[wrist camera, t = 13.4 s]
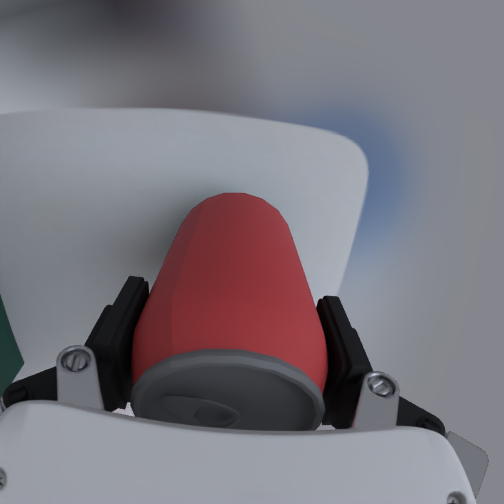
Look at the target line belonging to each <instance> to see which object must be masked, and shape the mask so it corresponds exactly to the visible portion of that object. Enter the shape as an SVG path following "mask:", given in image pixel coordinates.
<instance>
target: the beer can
mask: <svg viewBox="0 0 504 504" xmlns="http://www.w3.org/2000/svg"><path fill="white" fill-rule="evenodd" d="M130 369H131V376H132V382H133V388H132V395H131V404H130V406H131V408H132V411H133V413H134V415H135V417H139V418H144V419H150V420H156V421H162V422H169V423H176V424H184V425H192V426H201V427H212V428H223V429H238V430H259V431H315V430H316V429H317V428H318V427H319V426H320V424H321V421H322V418H323V415H324V413H325V405H324V401H323V397H322V394H323V391H324V387H325V383H326V378H327V374H328V351H327V346H326V341H325V336H324V332H323V329H322V326H321V323H320V319H319V316H318V313H317V310H316V307H315V304H314V301H313V298H312V295H311V292H310V289H309V285H308V282H307V279H306V276H305V273H304V270H303V267H302V265H301V262H300V259H299V256H298V253H297V250H296V247H295V244H294V241H293V238H292V235H291V233H290V230H289V227H288V224H287V223H286V221H285V220H284V218H283V217H282V216H281V214H280V213H279V211H278V210H277V209H276V208H274V207H273V206H272V205H270V204H269V203H267V202H266V201H265V200H263V199H261V198H258V197H255V196H252V195H249V194H246V193H223V194H220V195H216V196H213V197H210V198H207V199H205V200H204V201H203V202H201V203H200V204H198V205H197V206H196V207H194V208H193V209H192V210H191V211H190V213H189V214H188V215H187V217H186V218H185V220H184V221H183V223H182V224H181V226H180V228H179V231H178V233H177V235H176V237H175V239H174V241H173V243H172V245H171V247H170V250H169V252H168V254H167V256H166V258H165V260H164V263H163V265H162V267H161V269H160V271H159V274H158V276H157V278H156V280H155V283H154V285H153V287H152V289H151V292H150V294H149V296H148V299H147V301H146V303H145V306H144V308H143V311H142V313H141V315H140V318H139V320H138V323H137V325H136V327H135V330H134V336H133V343H132V351H131V365H130Z"/></svg>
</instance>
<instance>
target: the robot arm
mask: <svg viewBox="0 0 504 504" xmlns="http://www.w3.org/2000/svg"><path fill="white" fill-rule="evenodd" d="M148 296H149V284H148V282H147V281H144V278H143V277H137V276H129V277H128V279H127V281H126V283H125V284H124V286H123V288H122V290H121V291H120V293H119V295H118V297H117V298H116V300H115V302H114V304H113V305H107V306H106V307H105V308H104V310H103V312H102V314H101V315H100V317H99V319H98V321H97V322H96V324H95V326H94V328H93V330H92V332H91V333H90V335H89V337H88V339H87V341H86V343H85V345H84V346H82V345H74V346H69V347H67V348H65V349H64V350H62V351H61V352H60V353H59V355H58V357H57V361H56V366H55V367H53V368H50V369H48V370H45V371H42V372H40V373H37V374H35V375H32V376H29V377H27V378H24V379H21V380H19V381H16V382H14V383H12V384H10V385H9V386H8V387H7V388H6V389H5V391H4V393H3V396H2V397H0V504H476V501H475V499H476V497H477V495H478V492H479V489H480V487H481V484H482V481H483V479H484V476H485V473H486V470H487V467H488V462H489V460H488V456H487V454H486V452H485V451H483V450H482V449H481V448H479V447H477V446H475V445H474V444H472V443H470V442H469V441H467V440H465V439H463V438H462V437H460V436H458V435H457V434H455V433H453V432H451V431H449V432H448V433H447V432H445V427H444V425H443V423H442V422H441V421H440V419H439V418H437V417H436V416H434V415H432V414H431V413H429V412H427V411H425V410H423V409H422V408H420V407H418V406H416V405H415V404H413V403H411V402H409V401H407V400H406V399H404V398H402V397H400V396H399V391H400V390H399V385H398V383H397V381H396V380H395V379H394V378H393V377H392V376H390V375H389V374H387V373H384V372H379V371H375V372H373V369H372V367H371V364H370V362H369V360H368V357H367V355H366V352H365V350H364V348H363V345H362V343H361V341H360V338H359V336H358V334H357V331H356V330H355V329H354V328H352V327H351V325H350V322H349V320H348V318H347V315H346V313H345V311H344V308H343V306H342V304H341V301H340V299H339V297H337V296H324V297H323V299H319V300H318V303H317V307H316V310H317V313H318V316H319V319H320V323H321V326H322V329H323V332H324V336H325V341H326V346H327V351H328V374H327V378H326V383H325V387H324V391H323V394H322V397H323V401H324V405H325V413H324V415H323V418H322V421H321V422H322V425H332V426H333V427H334V428H335V430H320V431H319V430H318V431H259V430H238V429H223V428H212V427H201V426H192V425H184V424H176V423H169V422H162V421H156V420H150V419H144V418H139V417H133V416H128V415H123V414H118V413H113V412H112V411H114V410H116V409H118V408H120V409H125V408H126V405H127V402H130V403H131V395H132V388H133V382H132V376H131V369H130V365H131V351H132V343H133V336H134V330H135V327H136V325H137V323H138V320H139V318H140V315H141V313H142V311H143V308H144V306H145V303H146V301H147V299H148Z"/></svg>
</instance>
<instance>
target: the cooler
mask: <svg viewBox="0 0 504 504" xmlns="http://www.w3.org/2000/svg"><path fill="white" fill-rule="evenodd" d="M23 364H24V361H23V359H22V356H21V354H20V351H19V349H18V346H17V344H16V341H15V338H14V336H13V333H12V330H11V327H10V324H9V321H8V318H7V315H6V312H5V309H4V306H3V302H2V299H1V295H0V397H2V396H3V393H4V391H5V389H6V388H7V387H8V386H9V385H10V384H11V383H12V382H13V380H14V378H15V377H16V375H17V374H18V372H19V371H20V369H21V367H22V366H23Z"/></svg>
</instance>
